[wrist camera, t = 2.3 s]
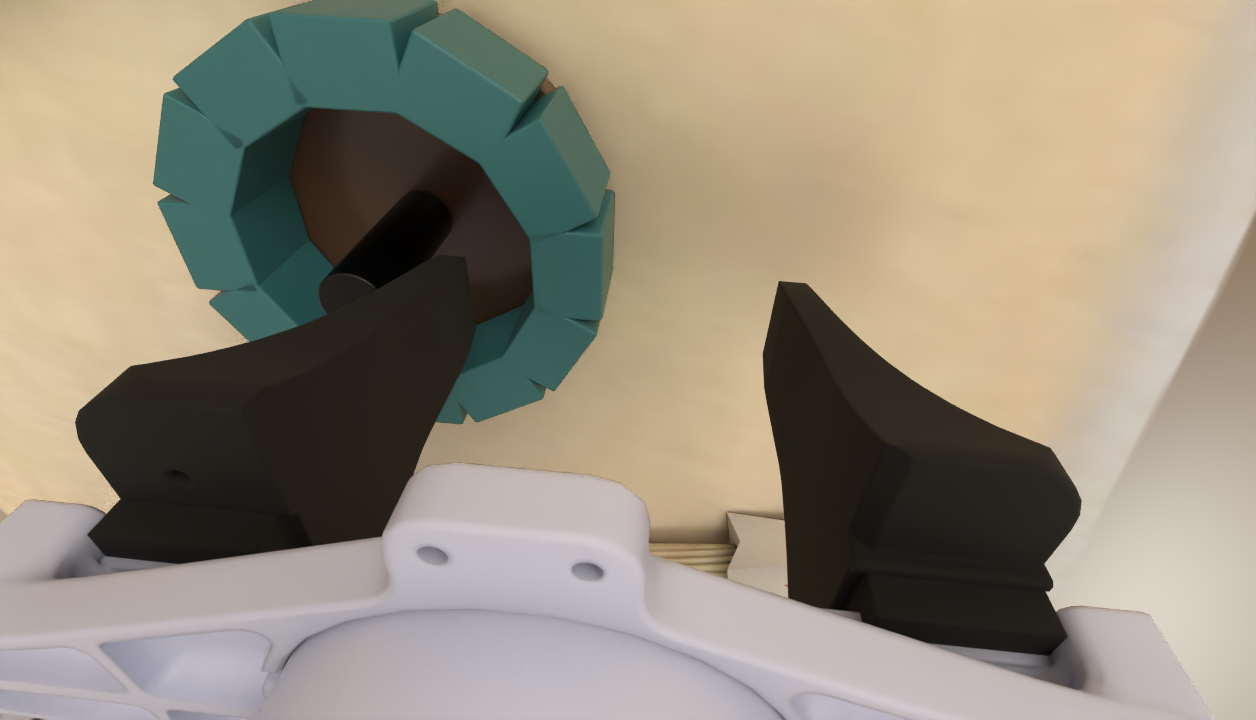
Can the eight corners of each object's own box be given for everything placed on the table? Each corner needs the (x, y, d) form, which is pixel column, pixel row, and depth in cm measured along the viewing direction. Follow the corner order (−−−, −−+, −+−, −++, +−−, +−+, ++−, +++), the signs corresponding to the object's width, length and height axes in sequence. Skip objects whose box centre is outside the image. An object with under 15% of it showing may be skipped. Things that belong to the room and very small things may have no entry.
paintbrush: (983, 634, 24) (506, 611, 28) (963, 572, 26) (522, 559, 30) (1005, 578, 21) (481, 562, 25) (981, 515, 24) (500, 509, 28)
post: (465, 391, 23) (411, 509, 18) (197, 188, 18) (45, 279, 14) (680, 223, 18) (674, 331, 13) (382, -104, 14) (235, -102, 9)
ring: (514, 413, 22) (494, 471, 20) (202, 259, 19) (138, 307, 17) (692, 166, 16) (691, 210, 14) (273, -118, 13) (186, -120, 11)
